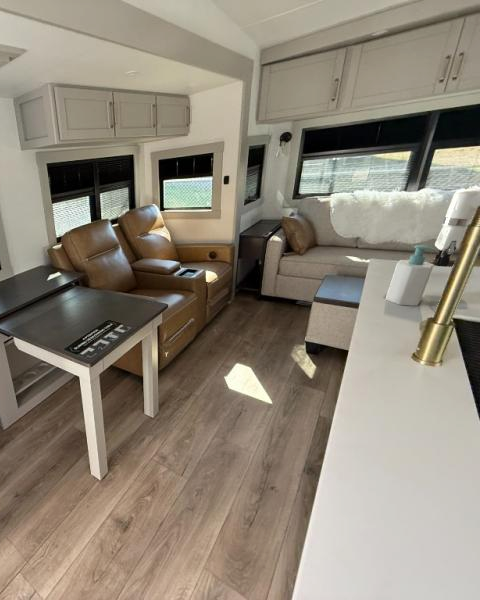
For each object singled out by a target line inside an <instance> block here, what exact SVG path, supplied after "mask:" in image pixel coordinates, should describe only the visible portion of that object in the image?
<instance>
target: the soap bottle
mask: <svg viewBox="0 0 480 600" xmlns="http://www.w3.org/2000/svg"><path fill="white" fill-rule="evenodd" d="M413 248H414V249H415V251H414V253H413V254H411V255H410V257H409V259H400V260H399V261H398V262H397V263H396V266H395V269H394V272H393V275H392V278H391V281H390V284H389V287H388V290H387V293H386V296H385V300H386V301H387V302H391V303H392V304H395V305H398V306H411V307H417V306H418V305H419V304H420V302H421V300H422V297H423V295H424V292H425V289H426V288H427V284H428V282H429V279H430V277H431V274H432V271H433V268H434V267H435V266H434V264H431V263H430V262H427V261H425V260H426V255H424V254H425V252H426V250H430V251H436V248H434V247H432V246H428V245H422V244H418V245H414V247H413Z"/></svg>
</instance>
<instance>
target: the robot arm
mask: <svg viewBox="0 0 480 600" xmlns="http://www.w3.org/2000/svg"><path fill="white" fill-rule="evenodd" d="M478 205H480V190H477V189H464V190H463V189H461V190H457V191H456V192H454V194H453V195H452V198H451V200H450V202H449V206H448V208H447V211H446V214H445V216H444V219H443V222H442V227H441V229H440V231H439V234H438V236H437V238H436V240H435V243H434V246H435V247H436V248H437V249H438V250H437V252H436V255H435V257H434V259H438V261H437V263H436V266H435V267H445V268H446V266H447V265H448V262H449V260H451V258H452V255H453V254H454V252H457V251H458V250H459V248H460V246H461V244H462V240H463V238H464V235H465V232H466V230H467V229H466V228H468V227H467V226H468V224H469V223H470V221H471V219H472V216H473V214H474V212H475V210H476V208H477V206H478ZM476 211H477V210H476ZM475 213H476V212H475ZM474 215H475V214H474ZM472 220H473V219H472Z"/></svg>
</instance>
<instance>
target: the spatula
mask: <svg viewBox="0 0 480 600" xmlns="http://www.w3.org/2000/svg"><path fill="white" fill-rule="evenodd" d="M455 260H456V259H450V260H449V262H448V265H447V266H446V267H448V268H453V267H452V266H453V264H454V262H455ZM437 261H438V259H435V258H432V259H431V260H430V262H429V263H431V264H434V266H433V267H437V266H436V263H437ZM446 267H445V268H446Z"/></svg>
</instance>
